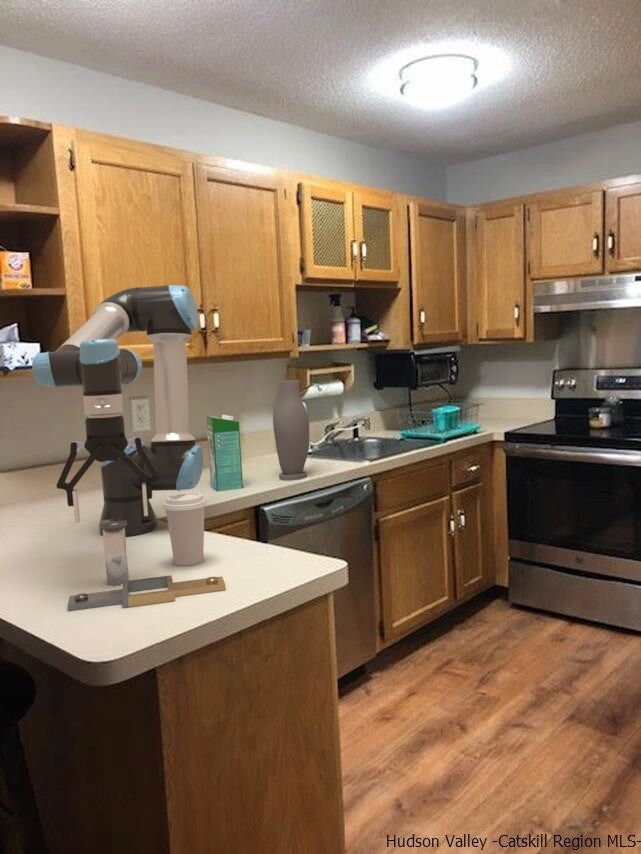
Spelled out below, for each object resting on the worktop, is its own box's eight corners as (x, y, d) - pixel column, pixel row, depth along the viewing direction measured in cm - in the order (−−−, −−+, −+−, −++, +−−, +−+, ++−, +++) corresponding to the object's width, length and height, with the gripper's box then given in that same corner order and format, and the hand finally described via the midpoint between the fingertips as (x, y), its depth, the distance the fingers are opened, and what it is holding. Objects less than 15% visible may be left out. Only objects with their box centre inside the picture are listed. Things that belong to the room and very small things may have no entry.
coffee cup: (191, 552, 165) (187, 490, 163) (218, 559, 159) (214, 494, 157) (158, 563, 158) (153, 498, 156) (186, 571, 152) (181, 503, 150)
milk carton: (243, 488, 237) (238, 414, 234) (216, 491, 234) (212, 417, 231) (236, 483, 245) (231, 412, 242) (210, 486, 242) (206, 414, 239)
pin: (105, 579, 148) (100, 519, 147) (131, 576, 150) (126, 517, 148) (104, 587, 143) (98, 526, 142) (131, 584, 144) (126, 523, 143)
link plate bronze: (128, 590, 141) (128, 580, 141) (221, 578, 146) (220, 569, 145) (128, 607, 132) (127, 596, 132) (227, 593, 136) (226, 583, 136)
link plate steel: (71, 597, 138) (70, 587, 138) (167, 585, 143) (166, 575, 143) (66, 615, 129) (65, 605, 129) (169, 601, 134) (168, 591, 133)
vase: (297, 482, 243) (293, 381, 240) (267, 479, 250) (262, 381, 246) (317, 475, 254) (313, 379, 251) (288, 473, 261) (284, 379, 258)
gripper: (36, 421, 135) (45, 528, 138) (167, 413, 142) (174, 515, 144) (41, 418, 143) (50, 520, 145) (166, 410, 149) (172, 508, 151)
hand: (112, 518), depth 144 cm, fingers open, 13 cm apart
